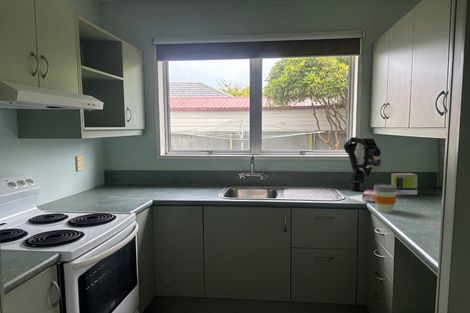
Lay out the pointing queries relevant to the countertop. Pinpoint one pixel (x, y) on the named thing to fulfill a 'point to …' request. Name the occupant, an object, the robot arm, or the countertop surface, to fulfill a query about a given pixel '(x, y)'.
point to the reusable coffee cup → (385, 197)
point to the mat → (357, 198)
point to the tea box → (405, 183)
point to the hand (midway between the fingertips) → (367, 176)
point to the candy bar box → (368, 195)
